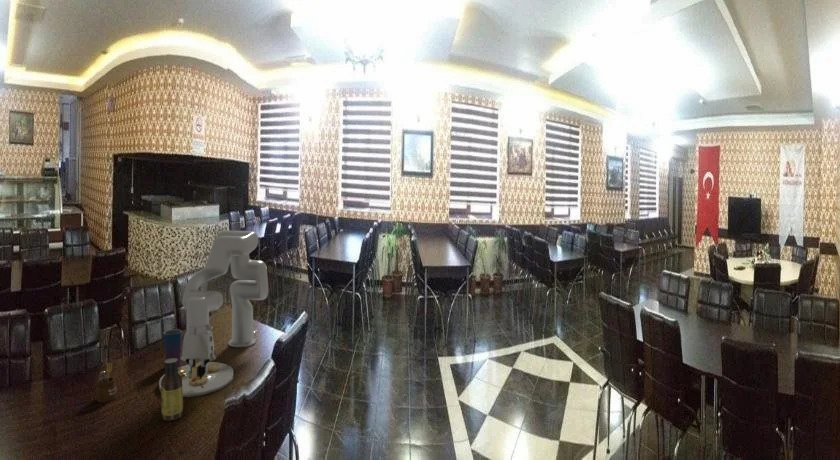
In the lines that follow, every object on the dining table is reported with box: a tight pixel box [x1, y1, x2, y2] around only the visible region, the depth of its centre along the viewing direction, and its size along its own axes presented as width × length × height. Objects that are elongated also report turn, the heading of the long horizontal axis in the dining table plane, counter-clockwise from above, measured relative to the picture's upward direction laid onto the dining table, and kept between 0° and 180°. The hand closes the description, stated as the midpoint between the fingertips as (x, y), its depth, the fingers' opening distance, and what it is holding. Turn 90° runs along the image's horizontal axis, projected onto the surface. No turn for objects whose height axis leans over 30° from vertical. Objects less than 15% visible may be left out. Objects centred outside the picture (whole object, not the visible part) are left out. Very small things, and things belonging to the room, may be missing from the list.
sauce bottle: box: [160, 358, 184, 422], centre depth 143 cm, size 6×6×20 cm
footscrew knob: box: [189, 361, 208, 386], centre depth 163 cm, size 7×6×7 cm
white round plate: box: [158, 361, 234, 398], centre depth 169 cm, size 26×26×4 cm
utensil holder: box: [95, 362, 117, 403], centre depth 153 cm, size 6×6×12 cm
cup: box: [162, 328, 183, 367], centre depth 182 cm, size 7×7×15 cm
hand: (198, 375), depth 163 cm, fingers closed on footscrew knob, 2 cm apart
